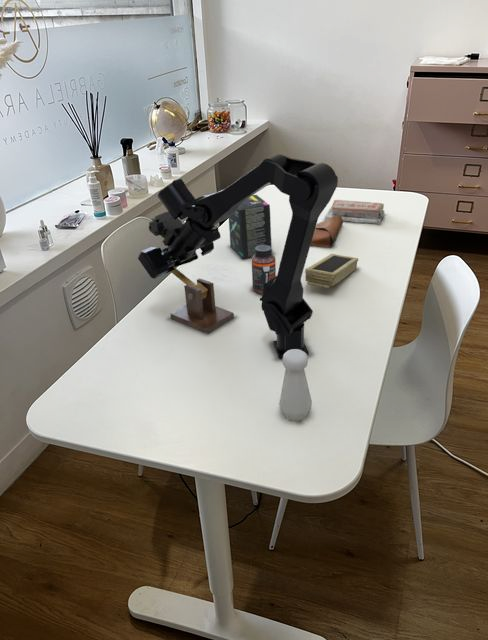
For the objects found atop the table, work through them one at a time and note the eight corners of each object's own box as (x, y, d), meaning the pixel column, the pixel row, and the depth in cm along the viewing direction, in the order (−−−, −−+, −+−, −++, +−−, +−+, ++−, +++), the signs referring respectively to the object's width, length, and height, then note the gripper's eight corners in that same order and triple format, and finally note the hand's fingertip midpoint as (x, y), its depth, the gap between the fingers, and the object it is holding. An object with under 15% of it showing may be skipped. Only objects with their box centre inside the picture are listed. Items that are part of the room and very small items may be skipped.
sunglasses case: (316, 222, 180) (327, 205, 177) (334, 234, 181) (346, 218, 177) (305, 244, 166) (317, 226, 162) (325, 257, 167) (337, 239, 163)
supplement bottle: (273, 295, 140) (272, 253, 134) (250, 294, 141) (248, 252, 135) (278, 284, 145) (277, 243, 139) (255, 283, 146) (253, 242, 140)
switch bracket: (170, 318, 132) (166, 284, 127) (197, 303, 138) (194, 271, 133) (207, 334, 126) (203, 299, 121) (234, 318, 131) (231, 284, 127)
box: (302, 288, 140) (304, 269, 138) (331, 267, 159) (333, 250, 156) (334, 294, 137) (336, 275, 135) (360, 272, 156) (362, 254, 153)
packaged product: (385, 200, 184) (381, 210, 176) (384, 214, 187) (380, 225, 179) (331, 196, 189) (325, 205, 181) (331, 210, 192) (324, 220, 184)
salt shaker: (310, 403, 104) (311, 343, 97) (313, 423, 99) (314, 362, 92) (278, 404, 104) (277, 345, 97) (280, 424, 99) (279, 363, 92)
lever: (154, 268, 132) (156, 256, 130) (166, 263, 134) (168, 251, 132) (196, 303, 128) (199, 292, 125) (207, 297, 130) (210, 286, 127)
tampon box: (272, 254, 162) (271, 204, 154) (242, 259, 159) (239, 209, 151) (258, 241, 171) (256, 193, 163) (229, 246, 168) (226, 198, 160)
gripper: (200, 192, 127) (172, 229, 139) (136, 216, 115) (112, 254, 127) (228, 233, 127) (198, 266, 139) (167, 261, 115) (140, 294, 127)
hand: (163, 269), depth 133 cm, fingers closed on lever, 3 cm apart
